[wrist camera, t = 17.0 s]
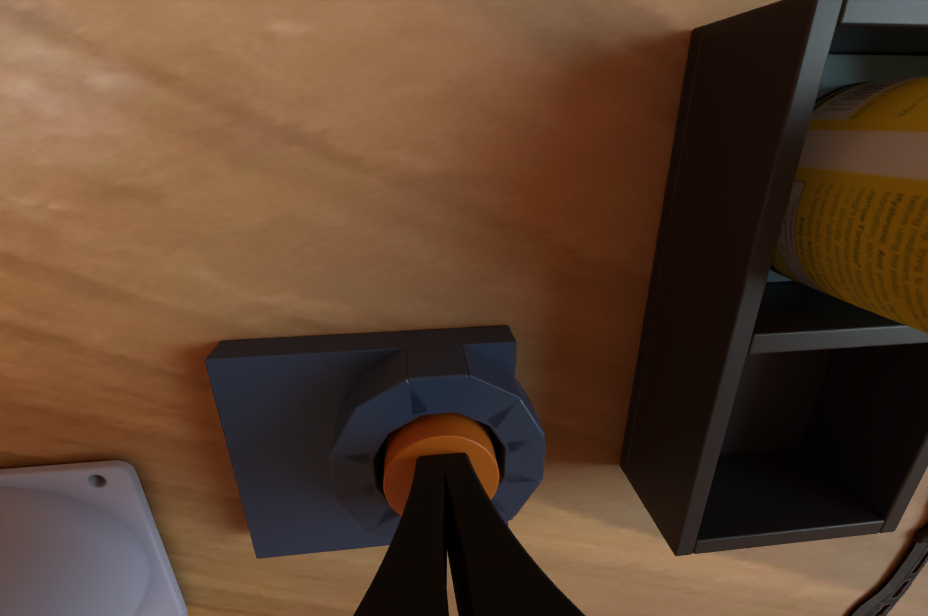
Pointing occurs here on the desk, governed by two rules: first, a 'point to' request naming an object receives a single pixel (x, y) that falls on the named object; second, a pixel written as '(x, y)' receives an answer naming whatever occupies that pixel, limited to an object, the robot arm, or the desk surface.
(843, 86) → the supplement bottle
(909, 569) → the knife
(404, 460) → the button
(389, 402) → the block
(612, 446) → the desk surface
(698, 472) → the rack
